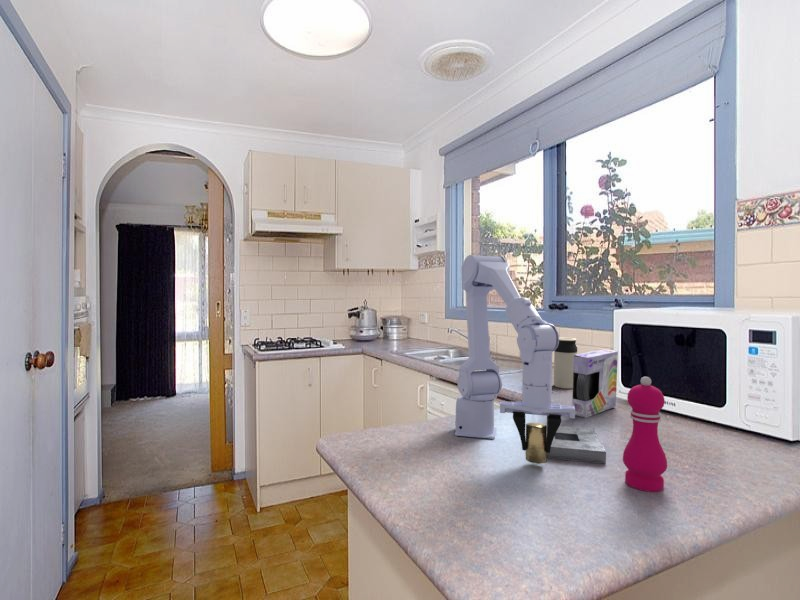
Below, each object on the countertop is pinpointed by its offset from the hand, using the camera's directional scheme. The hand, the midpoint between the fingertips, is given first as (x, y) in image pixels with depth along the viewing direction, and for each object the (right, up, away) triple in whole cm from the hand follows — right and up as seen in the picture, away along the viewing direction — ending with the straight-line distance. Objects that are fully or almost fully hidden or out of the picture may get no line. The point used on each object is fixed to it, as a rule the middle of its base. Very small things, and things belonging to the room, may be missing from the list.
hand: (535, 449), depth 93 cm
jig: (+10, -3, +11) cm, 15 cm away
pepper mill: (+17, -4, -9) cm, 20 cm away
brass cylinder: (0, -2, 0) cm, 2 cm away
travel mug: (+34, -2, +76) cm, 83 cm away
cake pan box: (+30, -3, +42) cm, 51 cm away
